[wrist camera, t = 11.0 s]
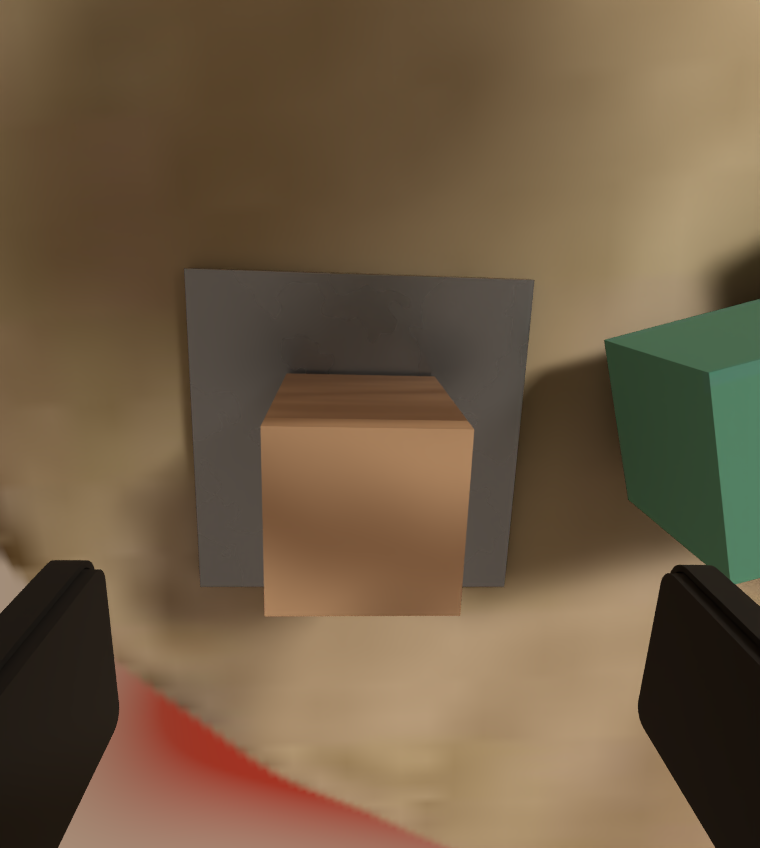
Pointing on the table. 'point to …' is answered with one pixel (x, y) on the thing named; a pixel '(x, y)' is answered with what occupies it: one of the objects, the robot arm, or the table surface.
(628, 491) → the toy
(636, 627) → the table surface
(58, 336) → the table surface
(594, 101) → the table surface
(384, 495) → the tan cardboard carton
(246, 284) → the grey base plate
